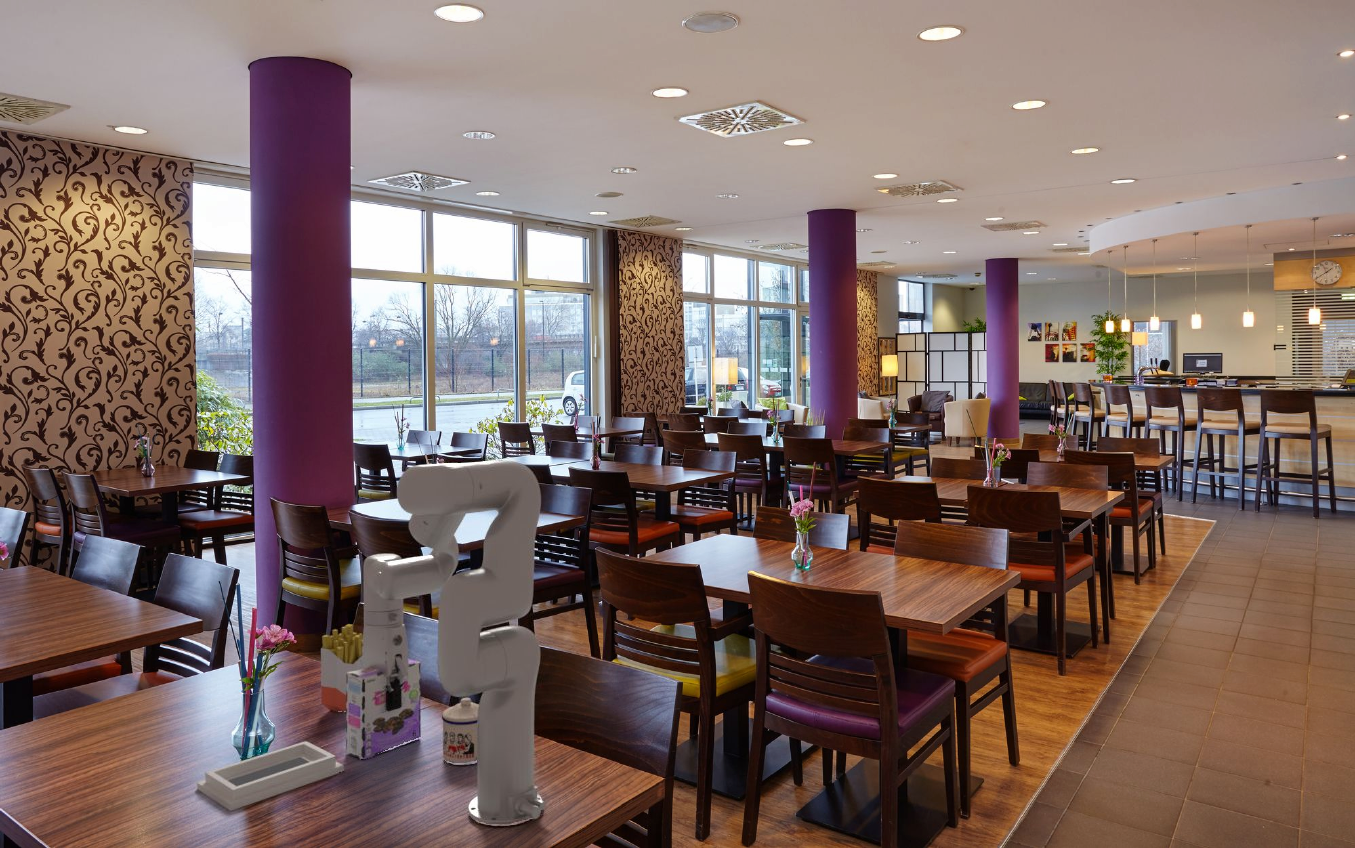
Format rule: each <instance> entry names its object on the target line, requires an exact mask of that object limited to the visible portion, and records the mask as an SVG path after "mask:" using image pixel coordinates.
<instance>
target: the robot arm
mask: <svg viewBox="0 0 1355 848" xmlns="http://www.w3.org/2000/svg"><path fill="white" fill-rule="evenodd" d="M396 497H397V502H398V504H399V506H400V508H401V509H402V510H403V511H404V512H406V513H408V514H411V516H410V518H409V521H408V530H409V532H410V534H411V536H412V537H413V539H415V541H416V542H418V543H419V544H420V545H422V546H424V547H427V548H429V549H432V550H431V552H430V553H429V554H427V555H420V556H413V557H406V558H402V557H401V556H400V555H398V554H395V553H377V554H372V555H370V556H367V557H366V558H365V559H364V561H363V633H362V638H363V642H362V658H361V660H360V663H361V665H362V667H363V668H367V667H370V668H374V669H376V670H379V671H381V672H382V673H383V676H385V677H386V680H387V687H388V691H386V711H392V710H395V709H399V708H401V706H402V690H401V689H402V688H403V685H404V683H405V681H406V680H407V678H408V677H409V674H408V669H409V659H410V658H409V647H408V646H409V645H408V644H409V643H408V637H407V631H406V625H405V623H404V599H409V598H411V597H417V596H423V595H428V594H434V593H436V592H439V591H440V590H441V591H440V595H439V600H438V617H437V618H438V622H437V623H438V625H437V626H438V627H437V671H438V672H437V673H438V678H439V680H440V684H441V686H442V688H443V689H444V690H445V692H446V693H447V694H449V695H450V696H452V697H457V698H466V697H470V696H473V695H477V694H480V693H482V695H481V697H480V700H479V703H478V705H479V707H478V716H477V764H476V765H477V771H476V772H477V774H476V775H477V777H476V779H477V781H476V783H477V784H476V785H477V789H476V790H477V793H476V797H474V798H473V799H472V800H471V801H470V802H469V804H468V807H467V812H468V813H469V815H470V816H471V818H473V819H474V820H478V821H479V822H484V823H486V824H511V823H514V822H519V821H522V820H526V819H528V818H533V819H532V820H536V819H538V818H539V817H540V815H541V813H542V811H543V810H545V808H546V807H547V802H546V801H544V800H543V798H542V797H541V795H540V794H538V786H535V694H536V686H537V685H536V684H537V679H538V673H539V669H540V668H539V667H540V663H541V647H540V643H539V639H538V638H537V636H536V635H535V633H534V632H533V631H532V630H530V629H529V628H527V627H524V626H520V625H506V626H500V627H496V628H491V629H487V630H483V631H482V629H484V628H487V627H491V626H495V625H500V624H504V623H508V622H512V621H516V620H518V619H521V618H523V617H525V616H526V615H527V614H528V613H529V612H530V611H531V608H532V605H533V598H534V583H535V582H534V580H535V579H534V578H535V576H534V575H535V545H536V544H535V542H536V534H537V527H538V523H539V519H540V513H541V507H542V505H541V504H542V494H541V488H540V484H539V481H538V479H537V476H536V475H535V474H534V472H533V471H532V470H531V469H530V468H529V467H528V466H527V465H525V464H523V463H521V462H518V461H513V460H486V461H475V462H461V463H458V462H451V463H450V462H448V463H447V462H446V463H431V464H418V465H413V466H410V467H409V468H408V469H406V470H405V471H404V472H403V473H402V475H401V476H400V478H399V480H398V483H397V487H396ZM490 511H497V512H498V513H497V515H496V516H495V518H493V520H492V522H491V523H490V525H489V527H488V530H487V531H486V533H485V537H484V540H483V557H482V558H483V560H482V563H481V566H480V567H479V568H477V569H471V570H466V571H461V572H459V573H456V574H454V573H455V571H456V569H457V567H458V565H459V557H460V555H459V554H460V552H459V551H460V549H459V545H458V541H457V537H455V534H456V532H457V530H458V529H459V526H460V525H461V523H462V522H463V520H464V518H465V516H466V514H474V513H483V512H490ZM453 574H454V575H453ZM395 670H396V673H395V674H392V671H395ZM392 677H396V679H395V681H394V682H393V683H392V679H391V678H392ZM541 810H542V811H541ZM468 813H467V814H468ZM469 815H468V816H469ZM471 818H470V819H471Z"/></svg>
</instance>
